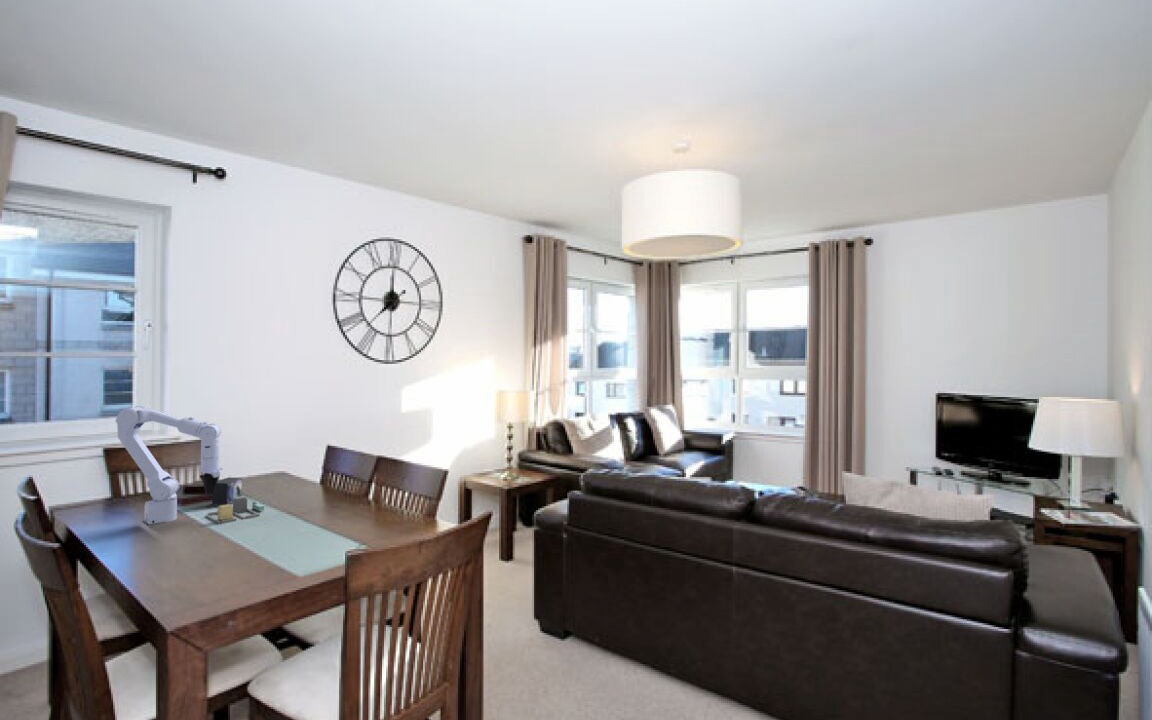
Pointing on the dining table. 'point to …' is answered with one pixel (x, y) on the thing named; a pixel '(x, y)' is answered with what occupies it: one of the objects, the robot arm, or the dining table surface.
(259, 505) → the paddle
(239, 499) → the slider graphite
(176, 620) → the dining table surface
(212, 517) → the control board
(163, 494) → the robot arm
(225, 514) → the slider brass
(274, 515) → the dining table surface
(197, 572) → the dining table surface
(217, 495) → the small box
